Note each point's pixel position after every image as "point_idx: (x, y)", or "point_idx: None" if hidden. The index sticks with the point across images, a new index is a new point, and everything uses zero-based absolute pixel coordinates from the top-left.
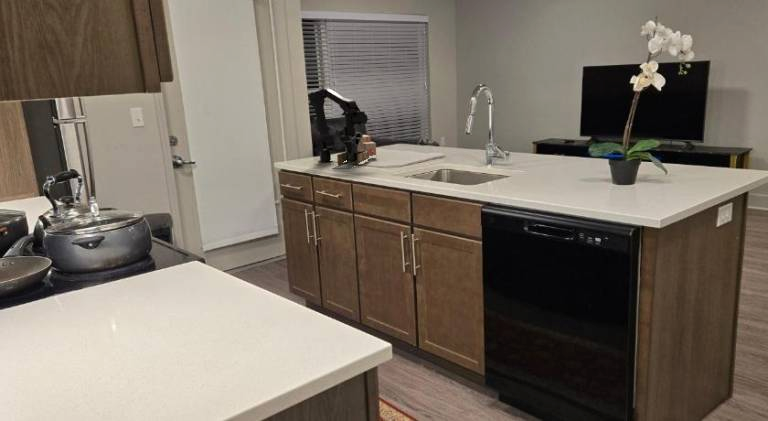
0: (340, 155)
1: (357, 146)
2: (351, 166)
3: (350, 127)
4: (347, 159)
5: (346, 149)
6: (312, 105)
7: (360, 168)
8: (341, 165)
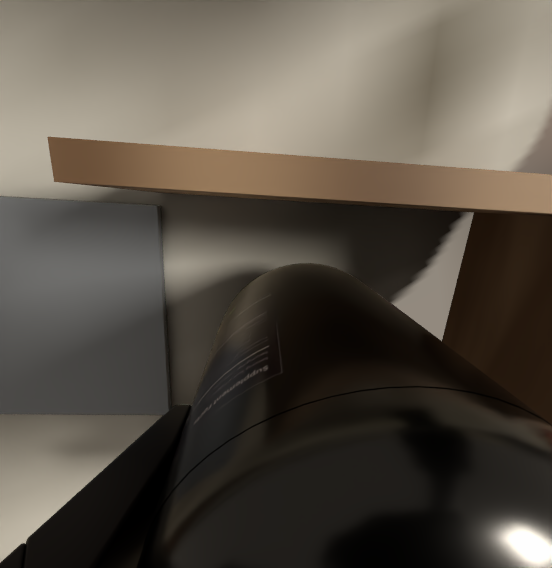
0: (190, 191)
1: None
2: (73, 391)
3: None
4: (229, 306)
5: (202, 416)
6: None
7: (34, 487)
8: (119, 243)
